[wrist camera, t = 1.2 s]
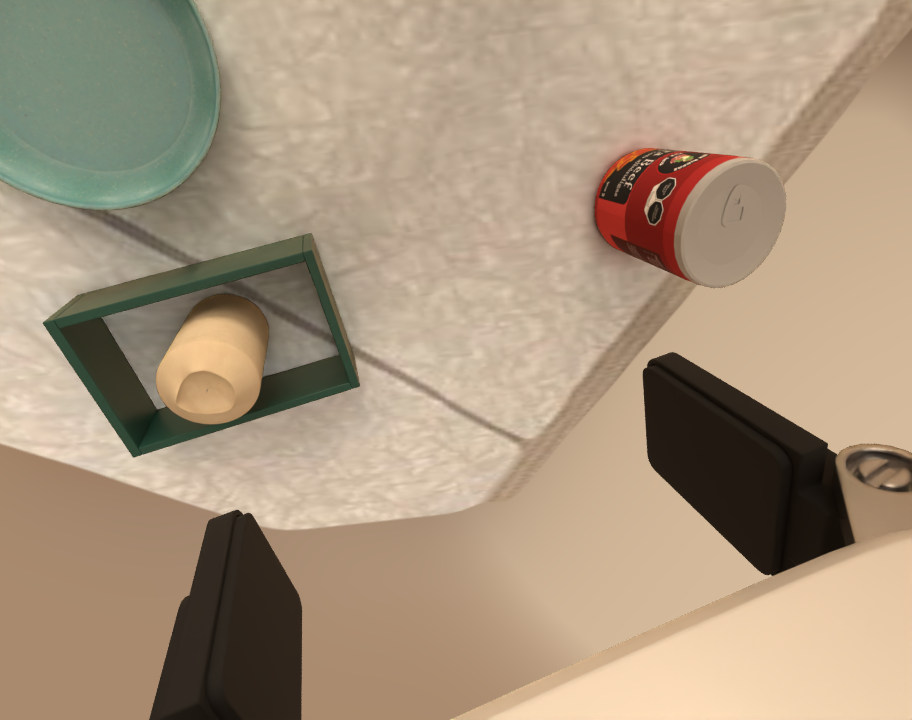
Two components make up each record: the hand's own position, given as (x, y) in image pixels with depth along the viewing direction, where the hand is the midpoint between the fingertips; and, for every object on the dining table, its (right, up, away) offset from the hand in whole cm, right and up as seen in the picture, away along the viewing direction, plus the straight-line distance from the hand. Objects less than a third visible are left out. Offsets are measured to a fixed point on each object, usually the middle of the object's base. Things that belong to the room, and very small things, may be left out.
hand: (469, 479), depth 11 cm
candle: (-17, +5, +25) cm, 31 cm away
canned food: (+14, +16, +29) cm, 36 cm away
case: (-17, +5, +25) cm, 30 cm away
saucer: (-21, +19, +17) cm, 33 cm away
